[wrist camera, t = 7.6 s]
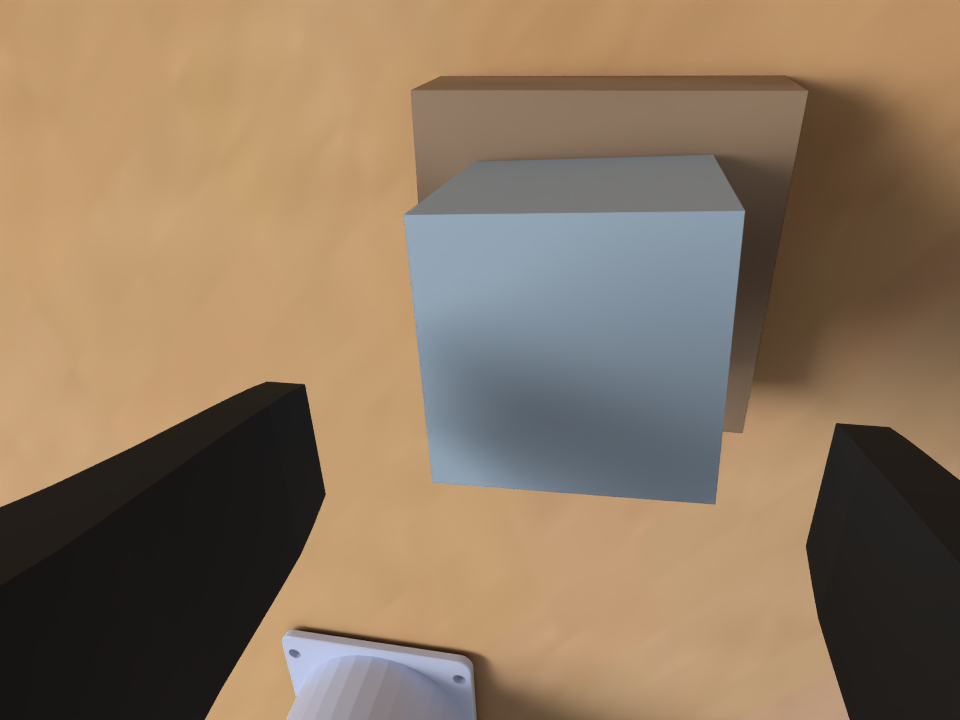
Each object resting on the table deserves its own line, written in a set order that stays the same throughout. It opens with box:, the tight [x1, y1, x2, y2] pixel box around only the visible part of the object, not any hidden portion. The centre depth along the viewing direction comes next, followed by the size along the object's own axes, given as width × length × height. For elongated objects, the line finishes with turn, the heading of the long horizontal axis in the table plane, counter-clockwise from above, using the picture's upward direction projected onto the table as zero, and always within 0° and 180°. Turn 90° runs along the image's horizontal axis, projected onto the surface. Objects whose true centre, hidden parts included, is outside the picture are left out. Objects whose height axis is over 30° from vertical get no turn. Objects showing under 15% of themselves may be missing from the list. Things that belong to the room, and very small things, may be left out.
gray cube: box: [404, 155, 745, 504], centre depth 13 cm, size 5×5×5 cm
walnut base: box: [411, 76, 808, 433], centre depth 17 cm, size 8×8×3 cm
